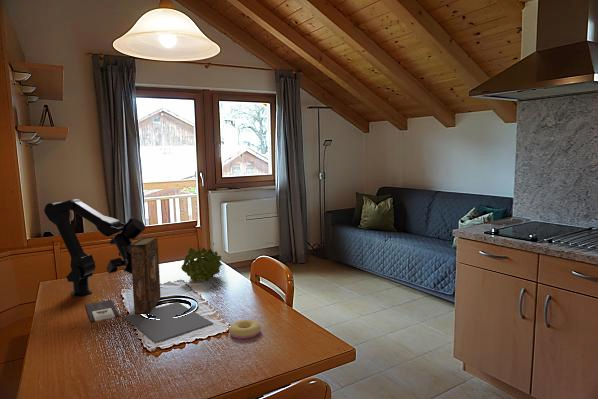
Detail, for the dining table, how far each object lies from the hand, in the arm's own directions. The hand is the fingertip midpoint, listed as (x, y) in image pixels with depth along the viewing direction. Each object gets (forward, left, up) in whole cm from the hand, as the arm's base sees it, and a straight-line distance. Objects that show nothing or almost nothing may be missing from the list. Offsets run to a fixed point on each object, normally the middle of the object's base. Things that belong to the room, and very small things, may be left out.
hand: (142, 279), depth 156 cm
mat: (+21, 0, -10) cm, 23 cm away
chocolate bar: (-4, -14, -10) cm, 18 cm away
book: (+4, 0, -10) cm, 10 cm away
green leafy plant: (-10, +31, -10) cm, 34 cm away
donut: (+47, +14, -10) cm, 50 cm away
